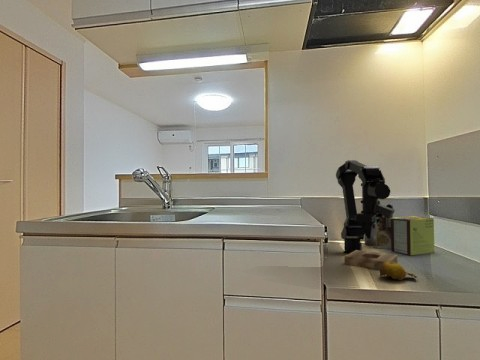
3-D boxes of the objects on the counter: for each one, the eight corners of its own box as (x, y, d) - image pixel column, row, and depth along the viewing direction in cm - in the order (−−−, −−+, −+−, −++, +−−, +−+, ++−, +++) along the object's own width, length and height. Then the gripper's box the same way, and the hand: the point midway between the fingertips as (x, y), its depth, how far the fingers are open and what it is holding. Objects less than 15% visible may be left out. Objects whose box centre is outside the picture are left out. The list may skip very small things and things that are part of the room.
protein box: (435, 252, 139) (434, 217, 139) (410, 255, 133) (410, 219, 133) (413, 248, 148) (413, 215, 148) (390, 251, 142) (389, 217, 142)
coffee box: (393, 246, 151) (392, 213, 151) (393, 249, 145) (393, 215, 145) (373, 245, 155) (372, 213, 155) (372, 247, 149) (372, 214, 149)
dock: (344, 263, 121) (344, 256, 121) (356, 256, 132) (356, 249, 132) (388, 270, 111) (388, 262, 111) (397, 262, 122) (397, 255, 122)
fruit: (421, 278, 100) (420, 263, 101) (401, 283, 95) (401, 267, 95) (389, 270, 110) (389, 256, 110) (370, 275, 104) (370, 260, 104)
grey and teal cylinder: (363, 245, 121) (362, 219, 121) (366, 243, 124) (366, 218, 124) (374, 246, 118) (374, 220, 118) (378, 244, 122) (377, 219, 122)
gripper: (385, 199, 109) (386, 243, 109) (397, 197, 124) (398, 236, 124) (354, 198, 116) (354, 240, 116) (369, 196, 131) (369, 233, 131)
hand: (370, 237), depth 121 cm, fingers closed on grey and teal cylinder, 4 cm apart
